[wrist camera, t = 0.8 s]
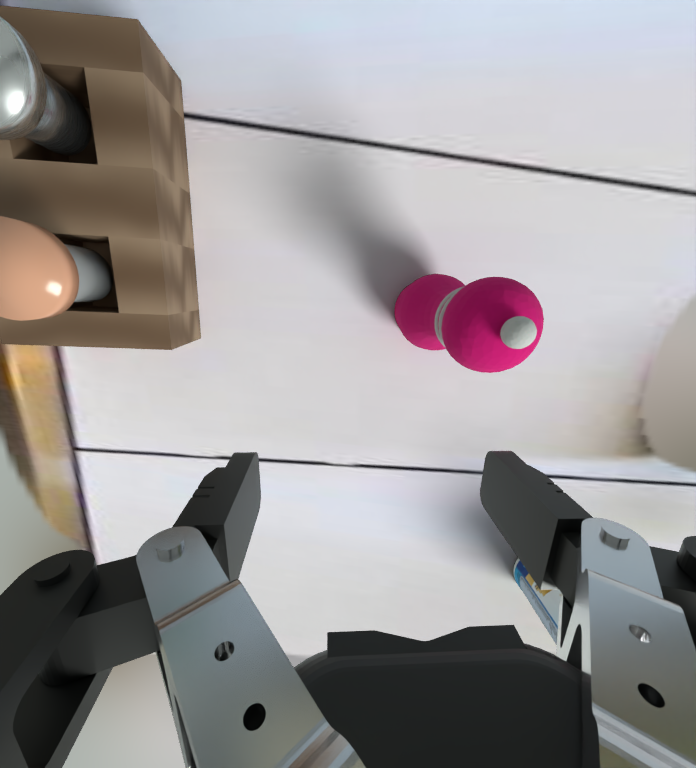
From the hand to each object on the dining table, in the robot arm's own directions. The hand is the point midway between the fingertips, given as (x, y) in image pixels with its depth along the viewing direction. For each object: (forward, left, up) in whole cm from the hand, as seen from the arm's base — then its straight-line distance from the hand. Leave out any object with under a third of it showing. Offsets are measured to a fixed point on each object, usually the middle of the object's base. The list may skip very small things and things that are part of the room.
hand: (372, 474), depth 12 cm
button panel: (-12, -22, -27) cm, 37 cm away
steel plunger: (-17, -22, -21) cm, 35 cm away
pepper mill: (-4, +9, -27) cm, 28 cm away
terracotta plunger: (-6, -22, -21) cm, 31 cm away
